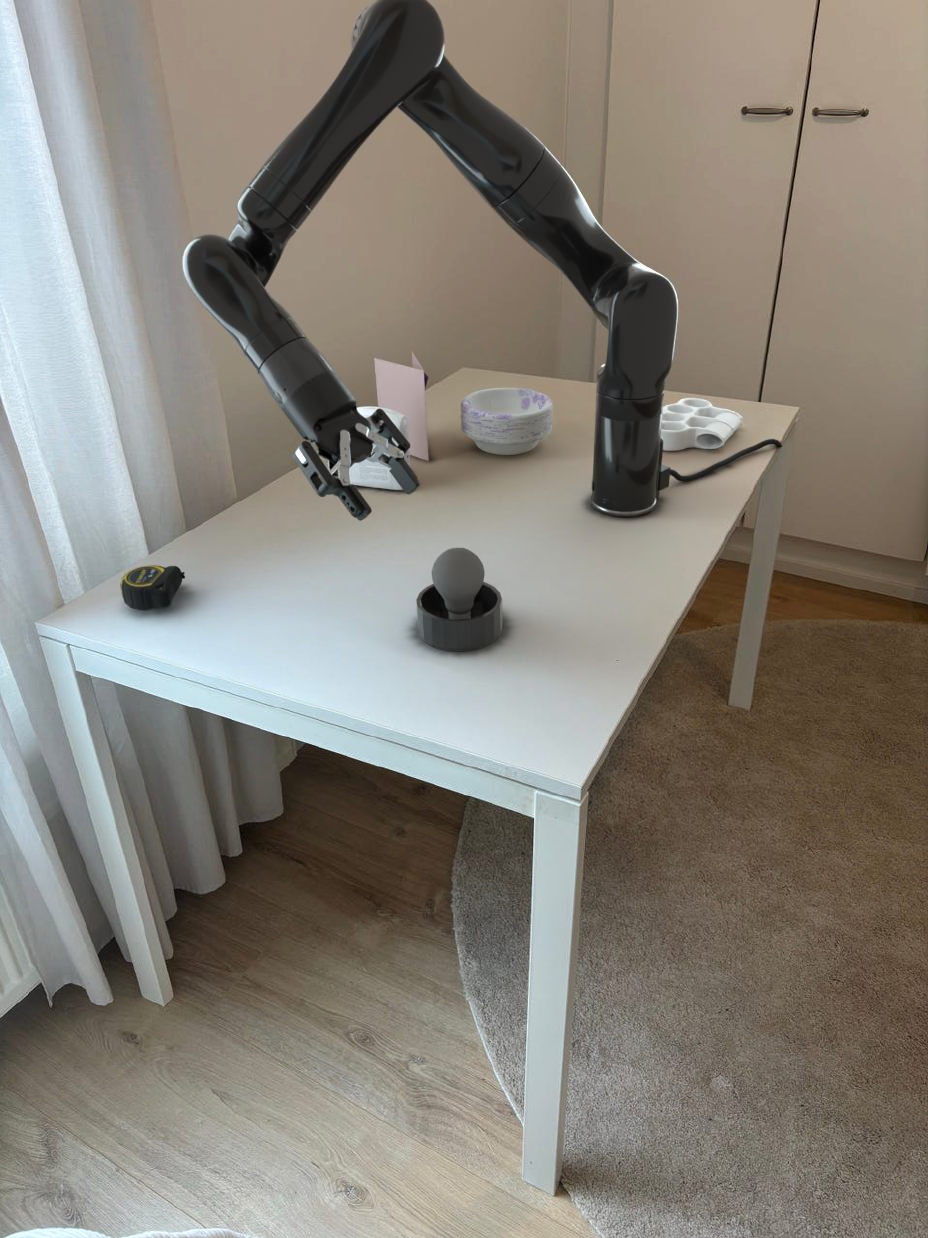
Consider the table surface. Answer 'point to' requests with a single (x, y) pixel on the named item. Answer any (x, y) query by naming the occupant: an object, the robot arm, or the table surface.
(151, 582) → the tape measure
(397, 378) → the greeting card
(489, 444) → the paper bowls
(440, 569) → the light bulb
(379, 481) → the white upright block
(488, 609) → the dark gray bowl
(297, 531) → the table surface
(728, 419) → the white multi-hole holder
